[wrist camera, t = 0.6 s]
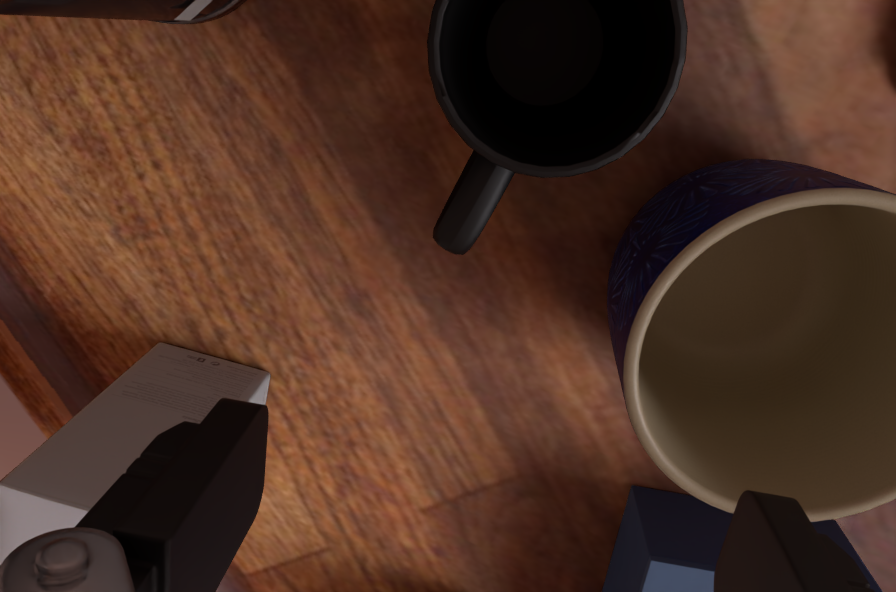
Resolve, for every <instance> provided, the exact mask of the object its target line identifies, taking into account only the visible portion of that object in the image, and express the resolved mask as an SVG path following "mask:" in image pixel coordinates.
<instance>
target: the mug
mask: <svg viewBox="0 0 896 592" xmlns="http://www.w3.org/2000/svg"><path fill="white" fill-rule="evenodd" d="M686 45H687V21H686V15H685V9H684V3H683V0H436V1H435V4H434V7H433V9H432V13H431V19H430V26H429V33H428V39H427V48H428V65H429V74H430V77H431V81H432V85H433V88H434V92H435V95H436V99H437V101H438V103H439V105H440V107H441V109H442V110H443V112H444V114H445V116H446V118H447V120H448V122H449V124H450V125H451V126H452V128H453V129H454V130H455V131H456V132H457V133H458V134H459V136H460V137H461V138H462V139H463V140H464V141H465V143H466V144H467V145H468V146H469V147H471V148H472V149H473V152H472V154H471V156H470V158H469V160H468V162H467V164H466V165H465V167H464V169H463V171H462V173H461V175H460V177H459V179H458V181H457V183H456V185H455V187H454V189H453V191H452V193H451V194H450V196H449V198H448V200H447V202H446V204H445V206H444V208H443V210H442V212H441V214H440V216H439V218H438V220H437V223H436V225H435V227H434V230H433V238H434V240H435V241H436V243H437V244H438V245H439V246H441V247H442V248H444V249H445V250H446V251H449V252H451V253H453V254H459V255H463V254H465V253H466V252H467V251H468V250H469V249H470V248H471V247H472V246H473V244H474V243H475V241H476V240H477V238H478V237H479V235H480V233H481V232H482V230H483V228H484V227H485V225H486V223H487V222H488V220H489V218H490V216H491V215H492V213H493V211H494V209H495V208H496V206H497V204H498V202H499V201H500V199H501V197H502V195H503V193H504V192H505V190H506V188H507V186H508V184H509V182H510V181H511V179H512V177H513V175H514V173H519V174H524V175H529V176H535V177H540V178H551V177H570V176H574V175H578V174H582V173H586V172H590V171H593V170H597V169H599V168H601V167H603V166H605V165H607V164H609V163H611V162H613V161H615V160H617V159H618V158H620V157H622V156H623V155H625V154H626V153H627V152H628V151H630V150H631V149H632V148H633V147H635V146H636V145H637V144H638V143H640V142H641V141H642V140H643V139H644V138H645V137H646V136H647V135H648V134H649V132H650V131H651V130H652V129H653V127H654V126H655V125H656V124H657V123H658V121H659V120H660V119H661V118H662V116H663V115H664V113H665V111H666V109H667V108H668V106H669V104H670V102H671V100H672V98H673V96H674V94H675V92H676V90H677V88H678V85H679V81H680V77H681V74H682V70H683V66H684V63H685V59H686Z"/></svg>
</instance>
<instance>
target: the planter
mask: <svg viewBox="0 0 896 592" xmlns="http://www.w3.org/2000/svg"><path fill="white" fill-rule="evenodd" d="M607 310H608V322H609V329H610V335H611V340H612V345H613V350H614V355H615V360H616V364H617V369H618V373H619V378H620V382H621V386H622V390H623V394H624V399H625V403H626V408H627V412H628V415H629V418H630V421H631V424H632V426H633V429H634V431H635V433H636V435H637V437H638V439H639V441H640V443H641V444H642V446H643V447H644V449H645V451H646V452H647V454H648V455H649V457H650V458H651V459H652V460H653V462H654V463H655V464H656V465H657V467H658V468H659V469H660V470H661V471H662V472H663V473H664V474H665V475H666V476H667V477H668V478H669V479H670V480H672V481H673V482H674V483H675V484H677V485H678V486H679V487H680V488H682V489H683V490H685V491H686V492H688V493H689V494H691V495H692V496H694V497H695V498H697V499H699V500H701V501H703V502H705V503H707V504H709V505H711V506H713V507H716V508H718V509H721V510H723V511H726V512H729V513H733V514H734V511H735V508H736V505H737V502H738V500H739V498H740V496H741V495H742V493H743V492H744V491H746V490H751V491H756V492H762V493H768V494H774V495H779V496H785V497H791V498H794V499H796V500H797V501H798V502H799V504H800V505H801V507H802V509H803V510H804V512H805V513H806V515H807V517H808V518H809V520H810V522H816V521H824V520H830V519H837V518H841V517H845V516H850V515H854V514H857V513H860V512H863V511H867V510H870V509H873V508H875V507H878V506H880V505H883V504H885V503H887V502H890V501H892V500H894V499H896V194H893V193H890V192H887V191H884V190H882V189H879V188H876V187H873V186H870V185H867V184H864V183H861V182H858V181H856V180H853V179H850V178H847V177H844V176H841V175H838V174H834V173H831V172H828V171H824V170H821V169H817V168H813V167H810V166H806V165H802V164H796V163H791V162H785V161H777V160H764V159H743V160H735V161H728V162H723V163H719V164H714V165H710V166H707V167H704V168H701V169H698V170H696V171H694V172H692V173H689V174H687V175H685V176H683V177H681V178H679V179H678V180H676V181H674V182H672V183H671V184H669V185H668V186H667V187H665V188H664V189H662V190H661V191H659V192H658V193H657V194H656V195H655V196H654V197H652V198H651V199H650V200H649V201H648V202H647V203H646V204H645V205H644V206H643V207H642V208H641V209H640V211H639V212H638V213H637V214H636V216H635V217H634V218H633V219H632V221H631V222H630V224H629V225H628V227H627V228H626V230H625V232H624V233H623V235H622V237H621V239H620V241H619V243H618V246H617V249H616V251H615V254H614V257H613V260H612V264H611V268H610V272H609V279H608V291H607Z"/></svg>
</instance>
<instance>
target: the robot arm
mask: <svg viewBox="0 0 896 592" xmlns="http://www.w3.org/2000/svg"><path fill="white" fill-rule="evenodd" d="M246 1H247V0H0V14H1V15H25V16H50V17H74V18H98V19H122V20H148V21H156V22H161V23H170V24H197V23H204V22H208V21H212V20H215V19H218V18H221V17H223V16H225V15H227V14H229V13H230V12H232V11H234V10H235V9H237V8H238V7H239V6H241V5H242V4H243V3H244V2H246ZM267 432H268V408H267V406H266V405H263V404H257V403H252V402H246V401H240V400H234V399H229V398H221V399H220V400H219V401H218V402H217V403H216V405H215V406H214V407H213V408H212V409H211V411H210V412H209V413H208V414H207V416H206V417H205V418H204V419H203V420H202V422H201V423H200V424H199V423H193V422H188V421H183V422H181V423H179V424H178V425H176V426H174V427H172V428H170V429H168V430H166V431H164V432H162V433H160V434H158V435H157V436H156V437H155V438H154V439H153V441H152V442H151V443H150V444H149V445H148V446H147V447H146V448H145V449H144V451H143V452H142V453H141V455H140V458H138V457H137V458H136V459H135V461H134V462H133V463H132V464H131V465H130V466H129V467H128V468H127V471H126V473H125V474H124V473H123V474H122V475H121V476H120V477H119V478H118V479H117V480H116V482H115V483H114V484H113V485H112V486H111V487H110V488H109V489H108V490H107V492H106V493H105V494H104V495H103V496H102V497H101V498H100V499H99V500H98V502H97V503H96V504H95V505H94V506H93V507H92V508H91V509H90V510H89V511H88V513H87V514H86V515H85V516H84V517H83V518H82V519H81V520H80V521H79V523H78V524H77V525H76V526H75V527H73V528H64V529H58V530H54V531H50V532H46V533H44V534H41V535H38V536H36V537H34V538H32V539H30V540H28V541H26V542H24V543H23V544H21V545H20V546H18V547H17V548H16V549H14V550H13V551H12V552H11V553H10V554H9V555H8V556H7V557H6V558H5V559H4V561H3V563H2V564H1V565H0V592H215V591H216V590H217V588H218V586H219V584H220V582H221V580H222V578H223V577H224V575H225V573H226V571H227V569H228V567H229V566H230V564H231V562H232V560H233V558H234V556H235V555H236V553H237V551H238V549H239V547H240V545H241V543H242V542H243V540H244V538H245V536H246V534H247V532H248V531H249V529H250V527H251V525H252V523H253V521H254V519H255V517H256V514H257V512H258V509H259V506H260V502H261V498H262V493H263V487H264V477H265V462H266V447H267ZM714 592H875V591H874V590H873V589H870V583H869V582H868V580H867V579H866V577H865V576H864V574H863V573H862V571H861V570H860V568H859V567H858V565H857V564H856V562H855V560H854V559H853V558H852V557H851V556H850V555H848V554H847V553H846V552H845V551H844V550H843V549H842V548H841V547H839V546H838V545H837V544H836V543H835V542H834V541H833V540H832V539H830V538H829V537H828V536H827V535H825V534H819V533H817V531H816V530H815V528H814V527H813V525H812V523H811V522H810V520H809V518H808V517H807V515H806V513H805V512H804V510H803V509H802V507H801V505H800V504H799V502H798V501H797V500H796V499H794V498H791V497H785V496H779V495H774V494H768V493H762V492H756V491H751V490H746V491H744V492H743V493H742V495H741V496H740V498H739V500H738V502H737V505H736V508H735V511H734V514H733V517H732V520H731V523H730V525H729V528H728V531H727V534H726V537H725V540H724V543H723V546H722V549H721V552H720V555H719V558H718V561H717V564H716V568H715V573H714Z"/></svg>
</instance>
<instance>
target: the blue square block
mask: <svg viewBox="0 0 896 592" xmlns="http://www.w3.org/2000/svg"><path fill="white" fill-rule="evenodd" d="M732 517H733V513H729V512H726V511H723V510H721V509H718V508H716V507H713V506H711V505H709V504H707V503H705V502H703V501H701V500H699V499H697V498H695V497H694V496H691V495H685V494H679V493H673V492H668V491H662V490H656V489H650V488H645V487H639V486H633V485H632V486H631V489H630V492H629V496H628V500H627V503H626V507H625V510H624V514H623V518H622V521H621V525H620V528H619V532H618V535H617V539H616V543H615V546H614V550H613V553H612V557H611V561H610V564H609V568H608V571H607V575H606V579H605V582H604V586H603V589H602V592H714V573H715V568H716V564H717V561H718V558H719V555H720V552H721V549H722V546H723V543H724V540H725V537H726V534H727V531H728V528H729V525H730V523H731V520H732ZM811 523H812V525H813V527H814V528H815V530H816V531H817V533H819V534H825V535H827V536H828V537H829V538H830V539H832V540H833V541H834V542H835V543H836V544H837V545H838V546H839V547H841V548H842V549H843V550H844V551H845V552H846V553H847V554H848V555H850V556H851V557H852V558H853V559H854V560H855V562H856V564H857V565H858V567H859V568H860V570H861V571H862V573H863V574H864V576H865V577H866V579H867V580H868V582H869V583H870V589H873V590H874V591H875V592H882V590H881V589H880V587H879V586H878V584H877V583H876V581H875V580H874V578H873V577H872V575H871V574H870V572H869V571H868V569H867V568H866V566H865V565H864V563H863V562H862V560H861V559H860V557H859V556H858V554H857V553H856V551H855V549H854V548H853V546H852V545H851V543H850V542H849V540H848V539H847V537H846V536H845V534H844V533H843V531H842V530H841V528H840V527H839V525H838V524H837V522H836V521H834V520H824V521H816V522H811Z"/></svg>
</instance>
